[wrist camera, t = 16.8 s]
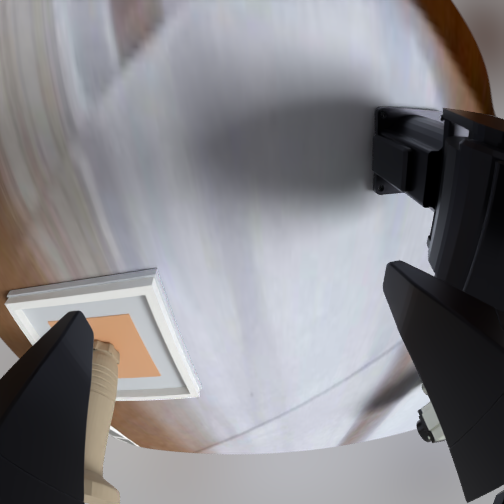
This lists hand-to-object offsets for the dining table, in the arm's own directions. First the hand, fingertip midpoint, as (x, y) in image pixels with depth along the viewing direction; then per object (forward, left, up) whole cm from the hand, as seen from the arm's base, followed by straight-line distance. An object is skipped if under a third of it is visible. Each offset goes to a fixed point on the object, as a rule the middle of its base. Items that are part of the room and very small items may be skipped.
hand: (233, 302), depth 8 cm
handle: (+14, +15, -12) cm, 24 cm away
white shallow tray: (+14, +15, -13) cm, 24 cm away
